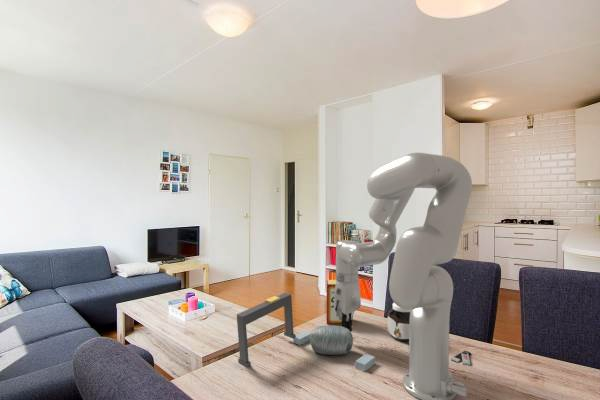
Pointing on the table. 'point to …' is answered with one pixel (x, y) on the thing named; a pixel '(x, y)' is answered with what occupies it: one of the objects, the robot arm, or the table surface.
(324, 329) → the gray yarn ball
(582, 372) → the table surface
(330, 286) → the baking soda box
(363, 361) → the pale blue block pair
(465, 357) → the usb flash drive
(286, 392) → the table surface
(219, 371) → the table surface
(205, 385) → the table surface
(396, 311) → the spread jar
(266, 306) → the gray arch frame
